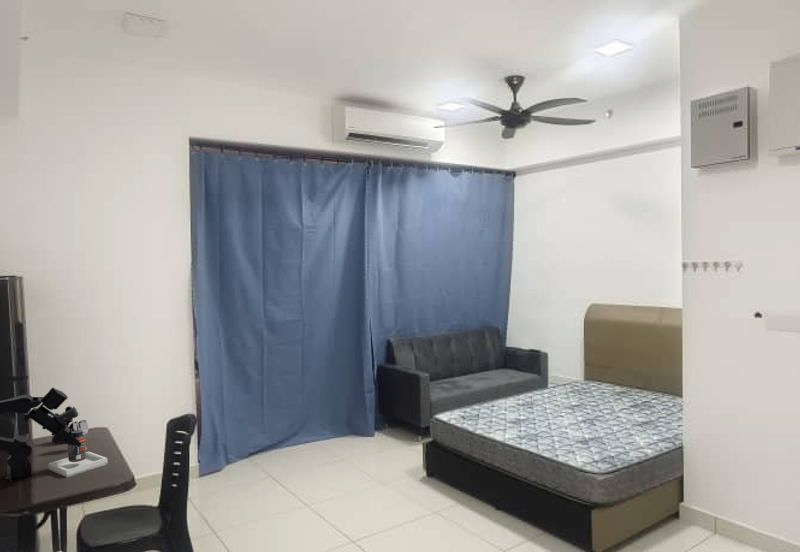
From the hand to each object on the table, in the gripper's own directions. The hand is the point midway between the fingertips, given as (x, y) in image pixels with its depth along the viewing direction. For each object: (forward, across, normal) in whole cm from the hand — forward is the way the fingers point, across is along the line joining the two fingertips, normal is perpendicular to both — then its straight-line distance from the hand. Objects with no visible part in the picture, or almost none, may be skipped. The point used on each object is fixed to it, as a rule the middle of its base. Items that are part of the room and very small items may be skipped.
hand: (80, 442), depth 212 cm
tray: (+6, 0, +7) cm, 9 cm away
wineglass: (+6, +24, +8) cm, 26 cm away
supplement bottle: (+4, 0, +6) cm, 7 cm away
